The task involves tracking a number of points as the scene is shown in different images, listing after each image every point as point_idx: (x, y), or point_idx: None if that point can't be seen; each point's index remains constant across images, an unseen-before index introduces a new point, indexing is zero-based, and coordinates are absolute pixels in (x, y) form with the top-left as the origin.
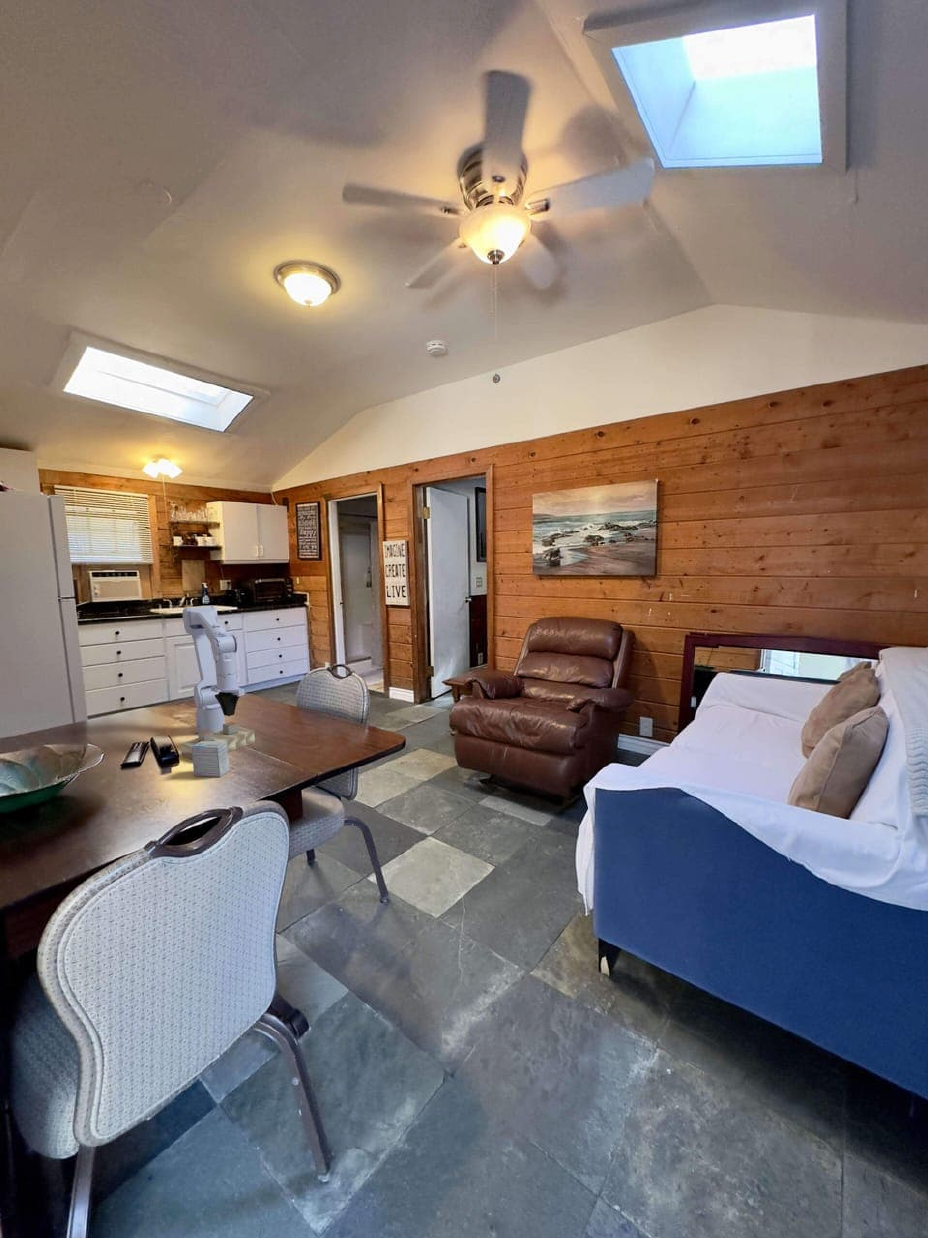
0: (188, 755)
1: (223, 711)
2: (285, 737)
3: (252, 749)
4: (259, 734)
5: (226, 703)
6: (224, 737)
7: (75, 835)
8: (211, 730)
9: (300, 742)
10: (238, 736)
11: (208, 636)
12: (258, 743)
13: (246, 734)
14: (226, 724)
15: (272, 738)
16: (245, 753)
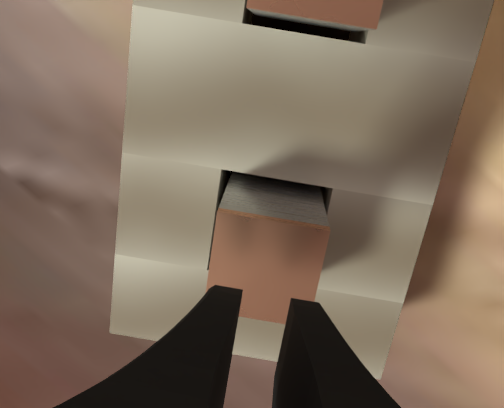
0: None
1: (309, 325)
2: (26, 403)
3: (41, 173)
4: (237, 402)
5: (90, 400)
6: (215, 113)
7: None
8: (283, 10)
9: None
10: (120, 186)
11: None
12: (101, 275)
13: (118, 260)
14: (283, 244)
15: (90, 369)
16: (19, 94)
